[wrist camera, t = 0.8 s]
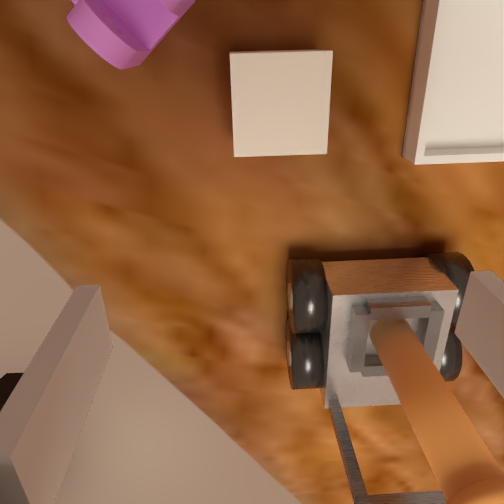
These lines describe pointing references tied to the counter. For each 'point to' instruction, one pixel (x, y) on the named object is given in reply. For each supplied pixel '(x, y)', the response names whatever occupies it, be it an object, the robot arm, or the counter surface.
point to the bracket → (125, 26)
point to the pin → (437, 418)
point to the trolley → (358, 336)
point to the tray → (457, 84)
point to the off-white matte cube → (280, 102)
